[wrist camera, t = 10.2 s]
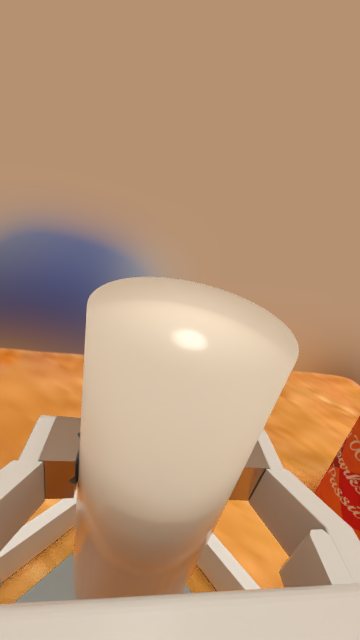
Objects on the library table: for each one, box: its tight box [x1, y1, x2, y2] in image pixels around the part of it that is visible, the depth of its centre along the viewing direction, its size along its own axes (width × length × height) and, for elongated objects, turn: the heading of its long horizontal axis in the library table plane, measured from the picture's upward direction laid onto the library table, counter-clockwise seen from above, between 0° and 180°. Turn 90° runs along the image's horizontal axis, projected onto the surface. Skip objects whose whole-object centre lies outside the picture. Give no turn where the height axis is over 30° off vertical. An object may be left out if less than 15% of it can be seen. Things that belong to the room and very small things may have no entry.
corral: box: [0, 490, 261, 603], centre depth 15 cm, size 14×14×3 cm
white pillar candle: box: [73, 277, 299, 600], centre depth 9 cm, size 5×5×12 cm
